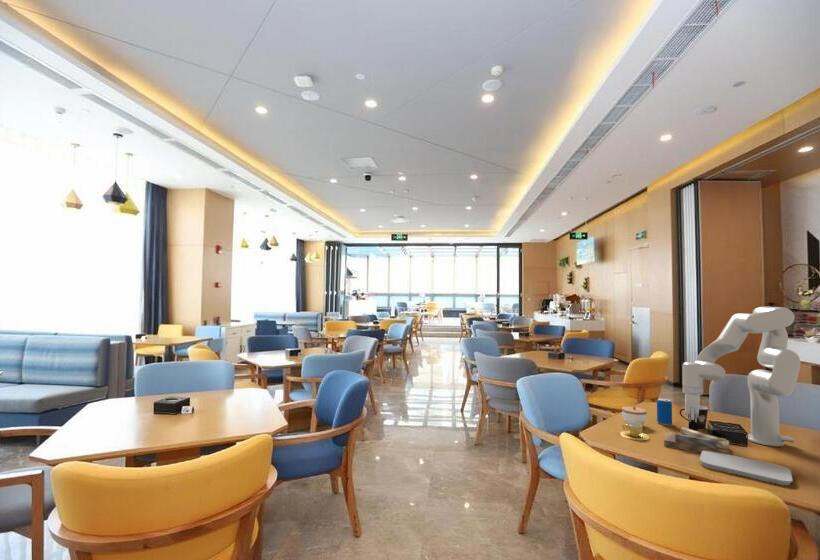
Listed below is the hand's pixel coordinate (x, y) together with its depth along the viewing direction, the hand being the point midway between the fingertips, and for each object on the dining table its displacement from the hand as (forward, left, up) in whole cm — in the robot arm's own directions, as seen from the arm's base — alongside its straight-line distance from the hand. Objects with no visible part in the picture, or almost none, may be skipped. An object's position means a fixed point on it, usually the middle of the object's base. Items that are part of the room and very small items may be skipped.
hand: (693, 430), depth 182 cm
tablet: (-16, +28, -4) cm, 32 cm away
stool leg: (-4, +11, -1) cm, 12 cm away
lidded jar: (+24, -5, -4) cm, 25 cm away
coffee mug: (0, -20, -4) cm, 21 cm away
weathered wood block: (-1, +12, -4) cm, 13 cm away
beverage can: (+12, -17, -4) cm, 21 cm away
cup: (+22, +12, -4) cm, 26 cm away
